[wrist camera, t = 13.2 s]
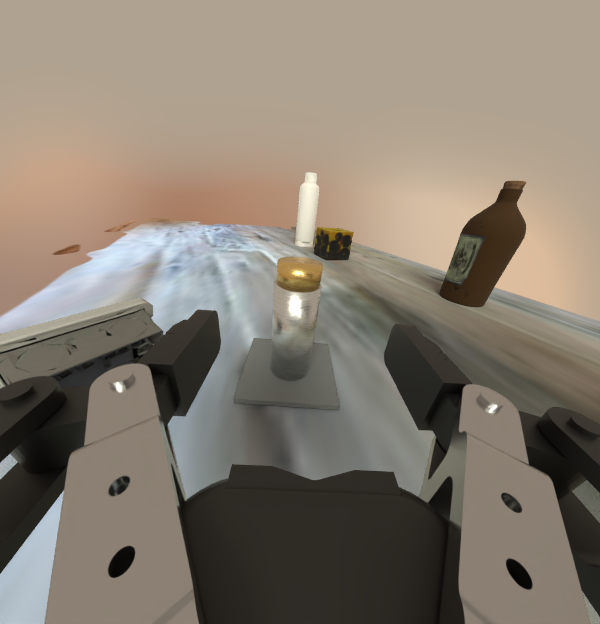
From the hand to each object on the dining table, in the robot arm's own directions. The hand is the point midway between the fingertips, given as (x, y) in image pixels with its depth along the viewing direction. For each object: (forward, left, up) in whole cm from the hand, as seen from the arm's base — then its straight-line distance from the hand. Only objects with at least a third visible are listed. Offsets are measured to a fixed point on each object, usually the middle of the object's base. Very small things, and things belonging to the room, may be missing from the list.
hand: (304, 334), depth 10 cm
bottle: (-3, -94, -12) cm, 95 cm away
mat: (0, -11, -12) cm, 16 cm away
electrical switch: (+15, -5, -12) cm, 20 cm away
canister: (0, -11, -11) cm, 16 cm away
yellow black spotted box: (-13, -75, -12) cm, 77 cm away
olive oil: (-41, -41, -12) cm, 59 cm away
